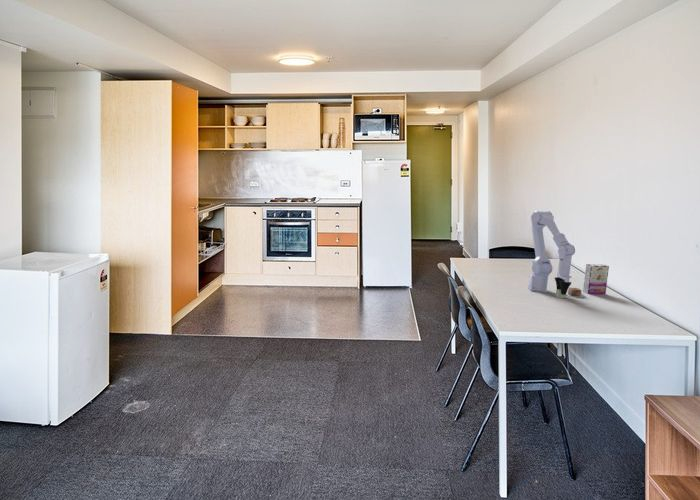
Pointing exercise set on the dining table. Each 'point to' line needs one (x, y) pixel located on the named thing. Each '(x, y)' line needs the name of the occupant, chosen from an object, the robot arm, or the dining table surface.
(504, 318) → the dining table surface
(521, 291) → the dining table surface
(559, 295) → the sage cube
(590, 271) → the candy bar box
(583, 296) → the blueprint mat
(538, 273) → the robot arm
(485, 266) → the dining table surface
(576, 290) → the brown block
